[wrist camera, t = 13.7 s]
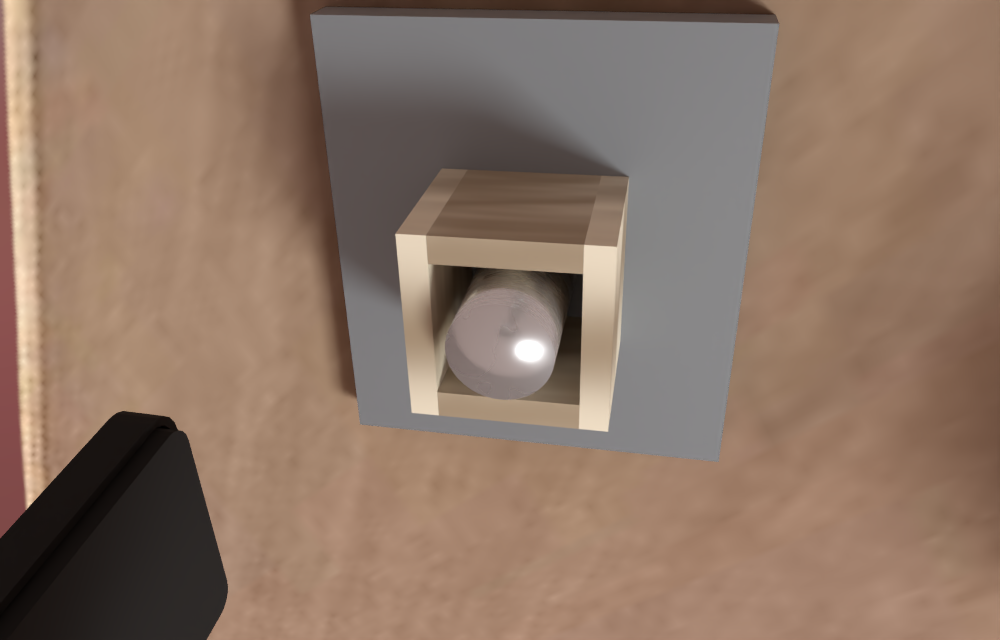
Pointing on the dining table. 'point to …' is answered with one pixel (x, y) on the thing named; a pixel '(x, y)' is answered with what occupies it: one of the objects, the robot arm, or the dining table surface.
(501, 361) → the grey cylinder
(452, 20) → the grey board
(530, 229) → the birch collar
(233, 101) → the dining table surface
